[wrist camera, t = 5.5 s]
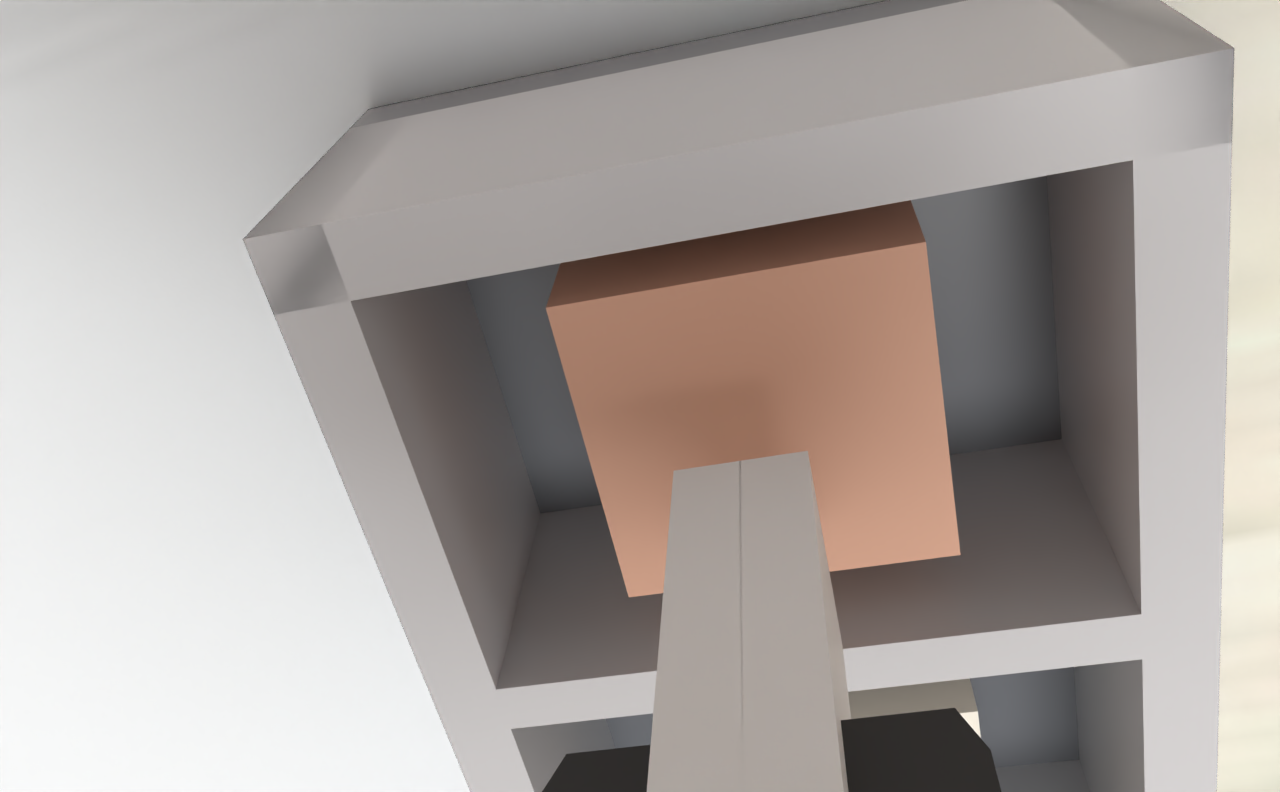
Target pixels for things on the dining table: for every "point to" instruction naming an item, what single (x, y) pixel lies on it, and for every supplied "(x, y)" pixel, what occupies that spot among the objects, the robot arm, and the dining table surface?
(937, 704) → the key cream
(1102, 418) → the grey compartment tray
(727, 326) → the key terracotta
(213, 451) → the dining table surface
